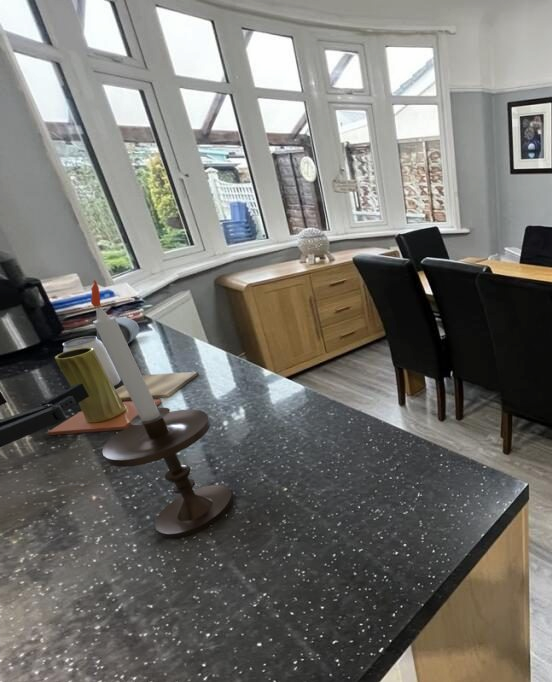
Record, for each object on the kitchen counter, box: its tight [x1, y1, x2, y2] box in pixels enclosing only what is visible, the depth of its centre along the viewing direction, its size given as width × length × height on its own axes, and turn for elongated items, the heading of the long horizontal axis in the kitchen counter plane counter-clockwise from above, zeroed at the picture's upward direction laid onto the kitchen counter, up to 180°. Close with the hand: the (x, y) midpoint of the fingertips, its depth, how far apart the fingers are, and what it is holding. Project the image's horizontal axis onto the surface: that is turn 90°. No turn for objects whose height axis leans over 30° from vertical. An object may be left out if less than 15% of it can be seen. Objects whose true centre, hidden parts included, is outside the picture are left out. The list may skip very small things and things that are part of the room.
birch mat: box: [115, 371, 199, 402], centre depth 93 cm, size 14×11×1 cm
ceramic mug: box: [96, 317, 140, 345], centre depth 117 cm, size 11×8×8 cm
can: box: [62, 335, 122, 388], centre depth 92 cm, size 6×6×12 cm
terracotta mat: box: [47, 398, 162, 436], centre depth 82 cm, size 14×10×1 cm
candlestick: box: [90, 279, 234, 540], centre depth 51 cm, size 11×11×35 cm
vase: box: [54, 347, 126, 423], centre depth 79 cm, size 6×6×14 cm
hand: (42, 392), depth 70 cm, fingers open, 13 cm apart
